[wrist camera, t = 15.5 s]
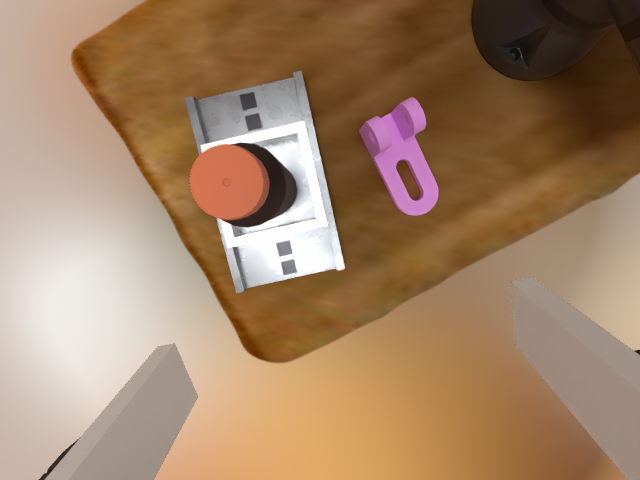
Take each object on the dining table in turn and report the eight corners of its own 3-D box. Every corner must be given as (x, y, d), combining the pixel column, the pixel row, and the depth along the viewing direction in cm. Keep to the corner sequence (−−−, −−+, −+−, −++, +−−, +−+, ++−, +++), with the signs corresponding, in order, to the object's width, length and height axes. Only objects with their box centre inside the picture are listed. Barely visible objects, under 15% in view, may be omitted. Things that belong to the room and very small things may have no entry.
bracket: (358, 131, 41) (367, 118, 34) (398, 110, 41) (414, 92, 34) (403, 222, 43) (420, 227, 36) (441, 202, 42) (466, 203, 35)
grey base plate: (302, 78, 40) (300, 63, 35) (343, 264, 43) (346, 272, 39) (192, 104, 40) (176, 92, 36) (241, 287, 43) (232, 298, 39)
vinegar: (278, 227, 41) (243, 254, 21) (232, 197, 41) (153, 196, 21) (307, 182, 41) (300, 168, 21) (261, 151, 40) (209, 105, 20)
